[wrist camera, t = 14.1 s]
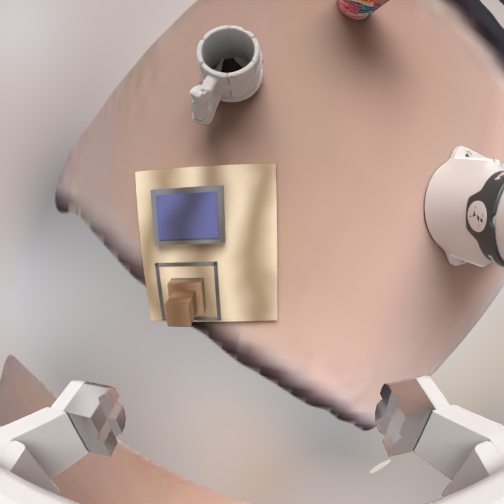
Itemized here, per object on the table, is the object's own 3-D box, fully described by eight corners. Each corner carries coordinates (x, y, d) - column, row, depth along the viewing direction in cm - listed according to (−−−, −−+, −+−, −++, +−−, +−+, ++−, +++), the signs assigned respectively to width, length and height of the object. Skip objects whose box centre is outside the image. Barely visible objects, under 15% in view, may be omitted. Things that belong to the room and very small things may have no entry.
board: (274, 163, 38) (276, 163, 35) (276, 316, 43) (278, 325, 40) (138, 172, 38) (130, 172, 35) (153, 318, 43) (148, 326, 40)
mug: (272, 66, 34) (281, 27, 23) (231, 142, 37) (222, 128, 25) (220, 45, 33) (210, 1, 22) (178, 118, 36) (150, 97, 24)
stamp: (203, 277, 40) (194, 298, 33) (206, 307, 41) (198, 332, 34) (171, 278, 40) (157, 298, 33) (175, 307, 41) (162, 331, 34)
